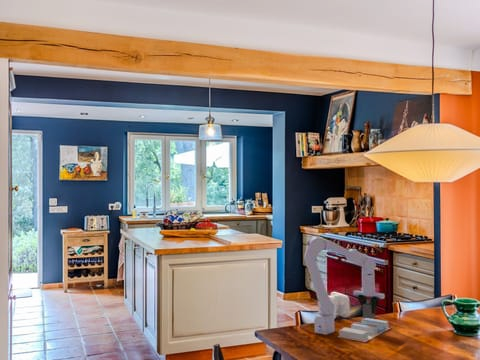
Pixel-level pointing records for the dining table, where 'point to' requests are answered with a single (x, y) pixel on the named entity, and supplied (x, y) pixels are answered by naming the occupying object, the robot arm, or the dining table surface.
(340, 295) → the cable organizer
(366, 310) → the cord plug
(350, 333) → the grey stepped board
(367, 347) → the dining table surface
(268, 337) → the dining table surface
